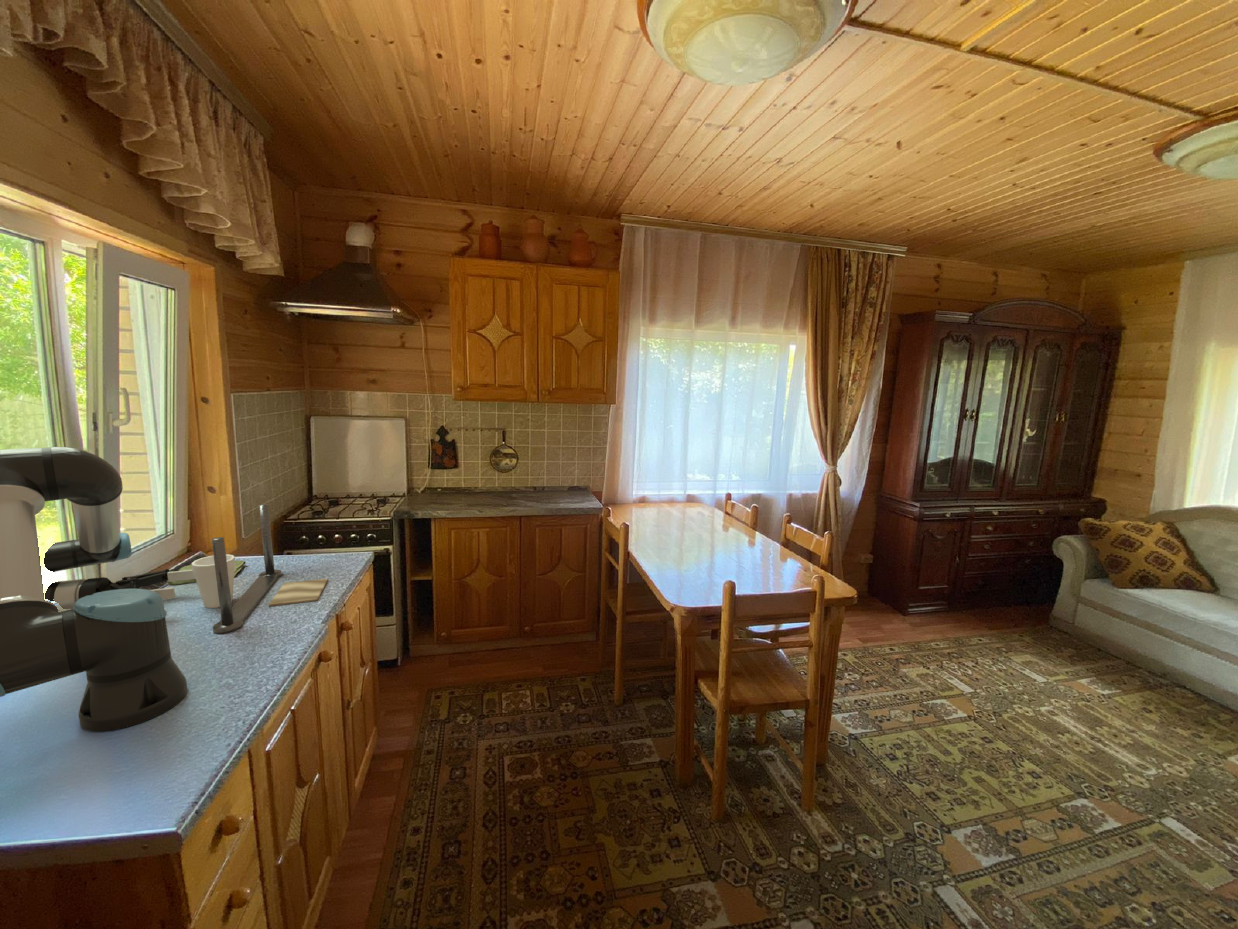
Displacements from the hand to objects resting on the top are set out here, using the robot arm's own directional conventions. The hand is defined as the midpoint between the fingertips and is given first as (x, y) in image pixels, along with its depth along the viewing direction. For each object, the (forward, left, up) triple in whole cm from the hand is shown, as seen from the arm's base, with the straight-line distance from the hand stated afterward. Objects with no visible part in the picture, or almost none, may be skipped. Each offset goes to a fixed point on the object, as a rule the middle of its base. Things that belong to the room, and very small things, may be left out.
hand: (185, 583), depth 137 cm
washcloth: (+25, +4, -8) cm, 27 cm away
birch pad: (+1, -27, -7) cm, 28 cm away
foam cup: (0, -7, -7) cm, 10 cm away
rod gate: (0, -15, -7) cm, 17 cm away
